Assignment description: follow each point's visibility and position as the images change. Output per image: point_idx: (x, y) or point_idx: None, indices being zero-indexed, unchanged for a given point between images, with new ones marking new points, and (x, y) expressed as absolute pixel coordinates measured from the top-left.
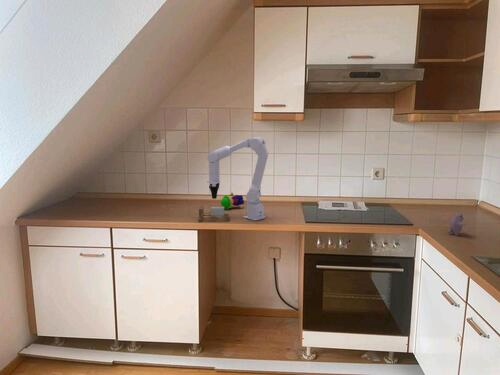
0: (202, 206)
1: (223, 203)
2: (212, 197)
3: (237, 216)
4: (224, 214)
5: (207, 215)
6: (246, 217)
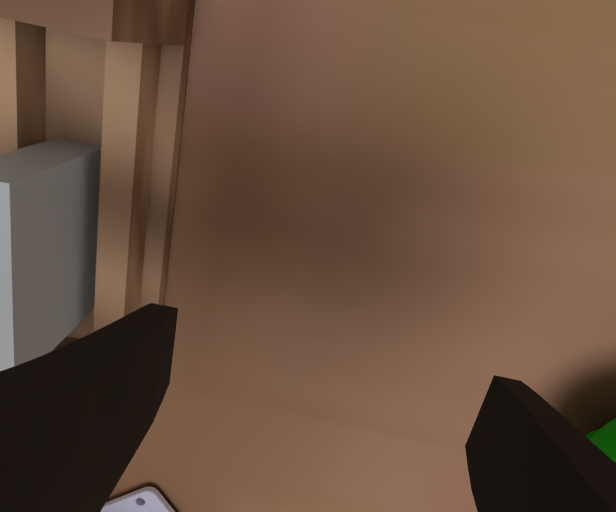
0: (91, 14)
1: (613, 449)
2: (131, 316)
3: (218, 446)
4: (95, 330)
5: (109, 99)
6: (112, 505)
